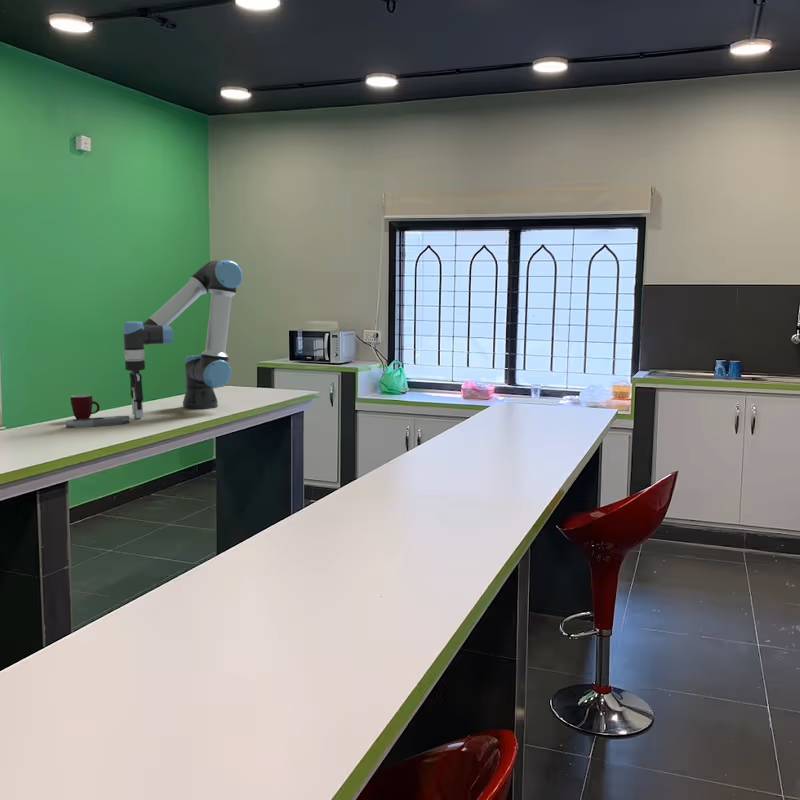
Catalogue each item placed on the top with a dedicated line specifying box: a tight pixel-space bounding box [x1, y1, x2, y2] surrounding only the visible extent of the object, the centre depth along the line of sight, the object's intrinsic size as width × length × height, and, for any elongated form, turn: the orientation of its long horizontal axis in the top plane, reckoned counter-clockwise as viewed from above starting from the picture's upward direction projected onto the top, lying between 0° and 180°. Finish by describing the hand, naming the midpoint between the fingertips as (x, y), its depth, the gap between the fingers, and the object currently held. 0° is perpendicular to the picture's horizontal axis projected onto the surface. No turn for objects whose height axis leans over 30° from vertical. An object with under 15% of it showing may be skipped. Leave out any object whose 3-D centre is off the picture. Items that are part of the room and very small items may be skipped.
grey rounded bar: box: [65, 415, 130, 429], centre depth 307 cm, size 23×5×2 cm, turn 117°
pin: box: [132, 387, 142, 420], centre depth 319 cm, size 3×3×13 cm
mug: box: [70, 394, 100, 419], centre depth 317 cm, size 11×8×10 cm
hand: (137, 415), depth 320 cm, fingers open, 8 cm apart
